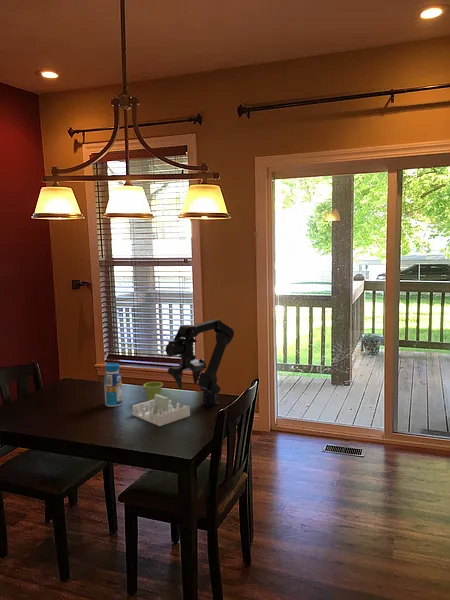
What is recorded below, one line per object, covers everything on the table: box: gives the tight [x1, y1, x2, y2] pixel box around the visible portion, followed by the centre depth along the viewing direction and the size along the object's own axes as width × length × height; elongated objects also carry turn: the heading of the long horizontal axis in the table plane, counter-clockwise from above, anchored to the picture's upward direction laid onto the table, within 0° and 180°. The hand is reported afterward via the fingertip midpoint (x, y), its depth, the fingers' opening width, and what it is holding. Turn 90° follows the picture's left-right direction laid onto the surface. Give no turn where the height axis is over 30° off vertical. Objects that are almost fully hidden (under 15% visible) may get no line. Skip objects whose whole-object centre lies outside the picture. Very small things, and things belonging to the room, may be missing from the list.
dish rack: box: [132, 399, 191, 427], centre depth 216 cm, size 17×20×4 cm
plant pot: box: [143, 381, 164, 401], centre depth 236 cm, size 9×9×9 cm
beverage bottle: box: [103, 362, 123, 408], centre depth 232 cm, size 8×8×20 cm
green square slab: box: [154, 394, 169, 414], centre depth 215 cm, size 2×8×8 cm, turn 45°
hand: (187, 386), depth 220 cm, fingers open, 9 cm apart
